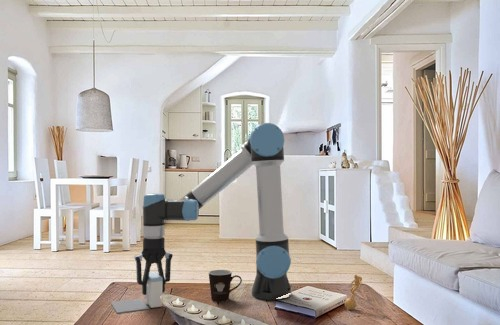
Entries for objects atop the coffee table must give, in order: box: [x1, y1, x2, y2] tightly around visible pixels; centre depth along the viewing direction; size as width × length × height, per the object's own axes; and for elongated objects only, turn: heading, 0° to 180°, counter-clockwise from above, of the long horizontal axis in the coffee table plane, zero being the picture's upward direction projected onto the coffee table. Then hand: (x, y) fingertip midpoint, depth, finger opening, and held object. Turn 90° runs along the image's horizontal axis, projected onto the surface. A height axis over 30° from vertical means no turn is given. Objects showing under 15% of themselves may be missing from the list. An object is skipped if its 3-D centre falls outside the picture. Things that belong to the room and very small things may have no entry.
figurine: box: [344, 274, 363, 311], centre depth 161 cm, size 8×6×12 cm
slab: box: [147, 271, 163, 308], centre depth 166 cm, size 4×9×10 cm, turn 26°
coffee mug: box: [208, 269, 243, 303], centre depth 172 cm, size 12×9×10 cm
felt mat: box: [110, 298, 151, 314], centre depth 164 cm, size 11×13×1 cm
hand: (153, 302), depth 166 cm, fingers closed on slab, 4 cm apart
